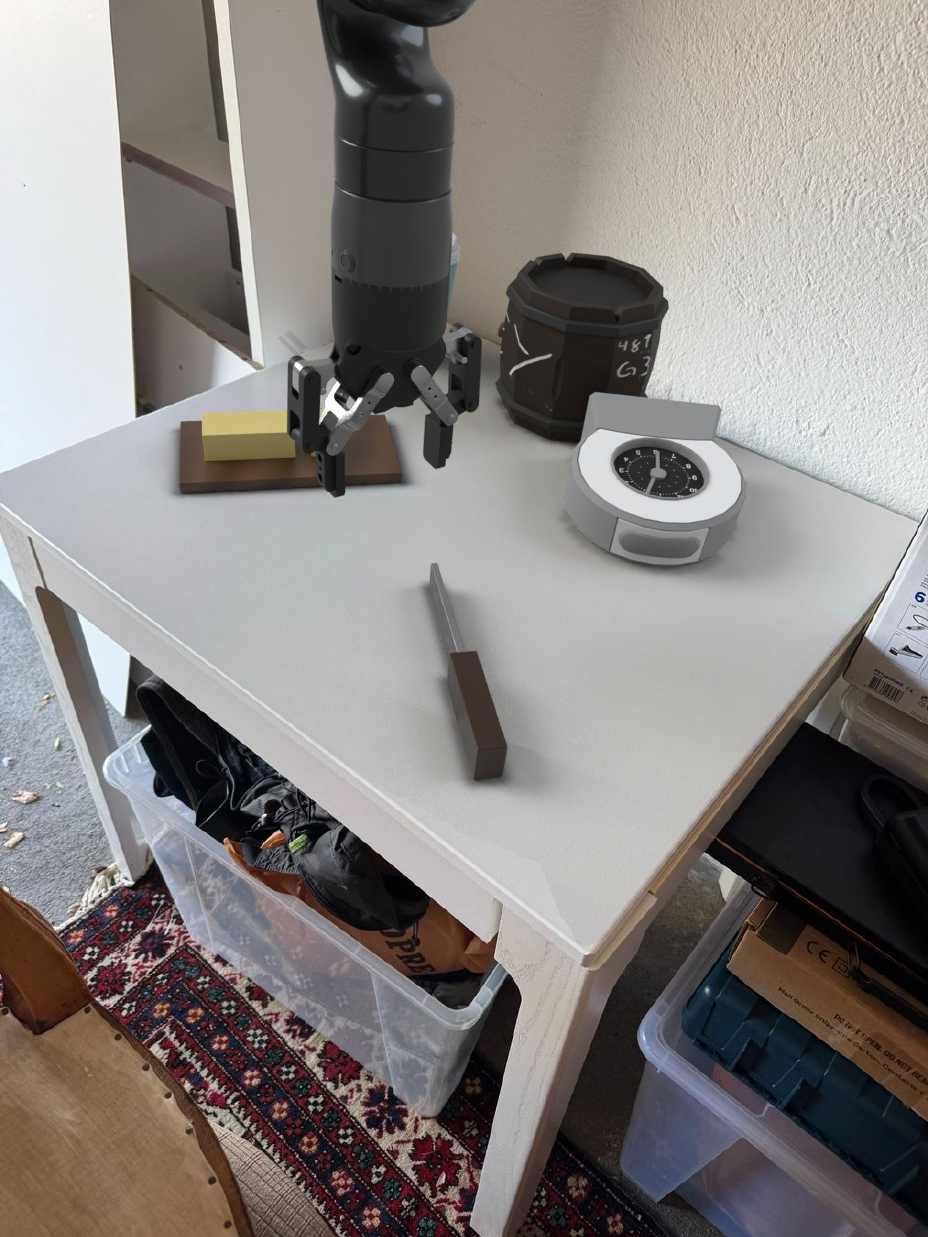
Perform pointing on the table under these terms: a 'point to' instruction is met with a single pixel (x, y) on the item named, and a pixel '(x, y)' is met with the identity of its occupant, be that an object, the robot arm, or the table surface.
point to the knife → (469, 693)
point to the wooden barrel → (576, 339)
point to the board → (287, 463)
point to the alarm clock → (653, 480)
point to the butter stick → (246, 435)
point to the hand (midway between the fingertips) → (385, 477)
